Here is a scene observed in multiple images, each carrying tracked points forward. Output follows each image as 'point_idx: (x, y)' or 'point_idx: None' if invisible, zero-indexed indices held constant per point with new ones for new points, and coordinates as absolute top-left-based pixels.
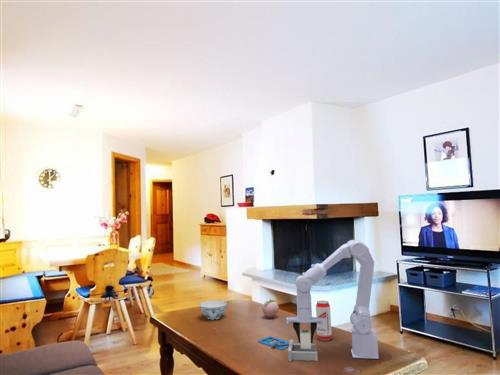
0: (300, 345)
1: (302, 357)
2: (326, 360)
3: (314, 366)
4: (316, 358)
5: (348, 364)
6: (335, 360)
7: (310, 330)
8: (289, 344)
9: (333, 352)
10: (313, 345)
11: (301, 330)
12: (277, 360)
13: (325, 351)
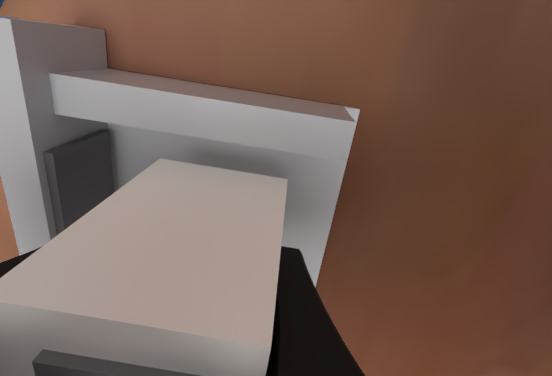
0: (157, 129)
1: None
2: (384, 291)
3: None
4: (311, 272)
5: (516, 359)
6: (454, 298)
7: (266, 365)
8: (11, 206)
9: (524, 138)
10: (320, 153)
11: (24, 362)
12: (18, 255)
13: (450, 103)
